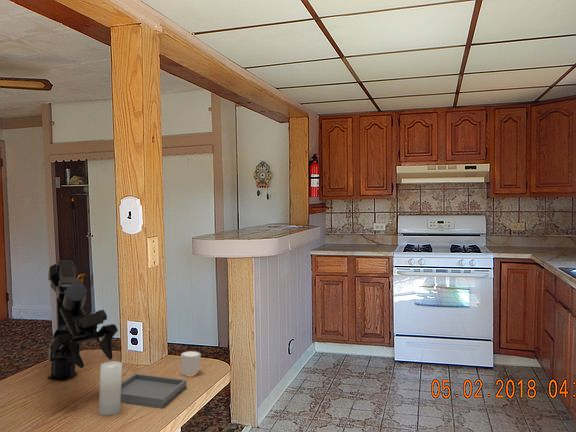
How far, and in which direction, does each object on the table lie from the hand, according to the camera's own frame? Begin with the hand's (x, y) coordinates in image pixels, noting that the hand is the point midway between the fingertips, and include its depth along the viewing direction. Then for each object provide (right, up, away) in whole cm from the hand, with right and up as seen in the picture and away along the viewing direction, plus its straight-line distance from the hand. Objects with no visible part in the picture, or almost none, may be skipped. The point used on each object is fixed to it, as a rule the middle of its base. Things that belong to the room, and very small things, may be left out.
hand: (97, 363), depth 131 cm
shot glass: (+20, -13, +28) cm, 37 cm away
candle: (+5, -12, -3) cm, 14 cm away
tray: (+11, -13, +10) cm, 20 cm away
